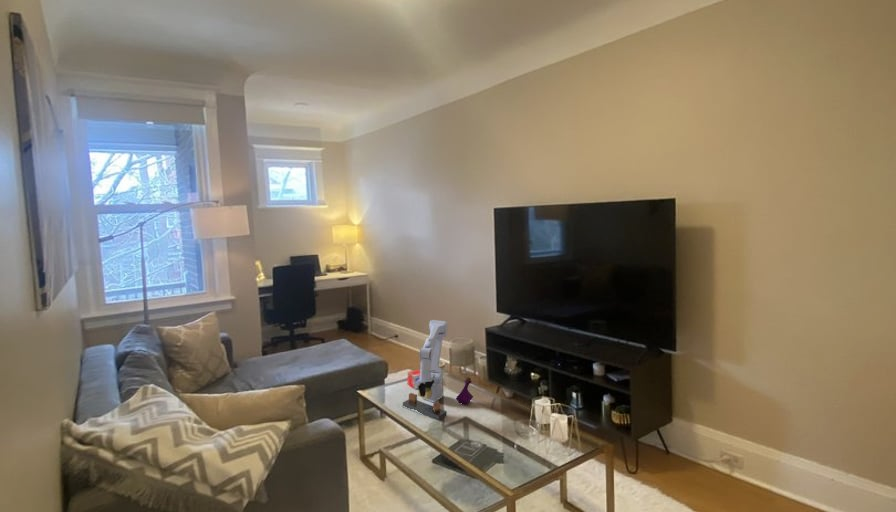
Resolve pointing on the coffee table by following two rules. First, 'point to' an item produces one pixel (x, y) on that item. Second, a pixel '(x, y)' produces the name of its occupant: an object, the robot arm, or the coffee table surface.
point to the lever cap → (426, 393)
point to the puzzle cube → (413, 378)
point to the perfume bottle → (465, 392)
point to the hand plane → (425, 408)
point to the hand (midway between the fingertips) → (424, 394)
